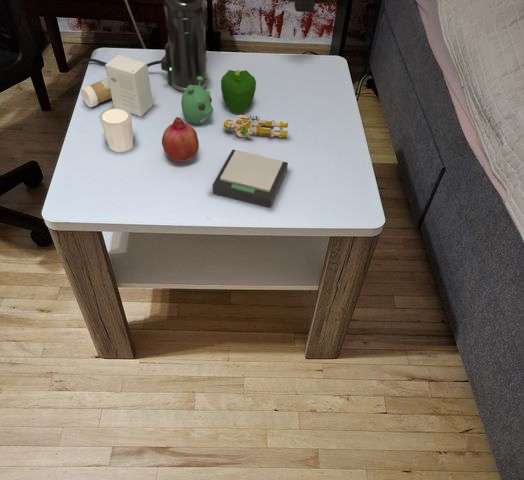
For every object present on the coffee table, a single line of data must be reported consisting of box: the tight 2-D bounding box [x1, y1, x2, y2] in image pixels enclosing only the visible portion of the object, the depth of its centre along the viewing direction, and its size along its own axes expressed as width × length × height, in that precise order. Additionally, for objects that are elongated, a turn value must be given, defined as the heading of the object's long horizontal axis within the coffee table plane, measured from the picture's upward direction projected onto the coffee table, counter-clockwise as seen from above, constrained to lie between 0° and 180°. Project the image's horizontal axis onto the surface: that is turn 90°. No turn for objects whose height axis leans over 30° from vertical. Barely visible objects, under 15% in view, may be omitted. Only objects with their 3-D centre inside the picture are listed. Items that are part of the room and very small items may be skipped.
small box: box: [104, 54, 154, 118], centre depth 119 cm, size 8×6×10 cm
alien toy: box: [180, 76, 214, 125], centre depth 118 cm, size 7×8×10 cm
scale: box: [212, 149, 289, 209], centre depth 109 cm, size 13×13×3 cm
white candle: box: [98, 106, 134, 153], centre depth 112 cm, size 7×7×7 cm
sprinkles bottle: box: [80, 77, 112, 108], centre depth 123 cm, size 5×5×13 cm
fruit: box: [161, 116, 200, 162], centre depth 109 cm, size 8×8×10 cm
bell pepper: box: [220, 69, 257, 115], centre depth 122 cm, size 8×8×10 cm
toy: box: [223, 114, 289, 139], centre depth 118 cm, size 5×5×15 cm
